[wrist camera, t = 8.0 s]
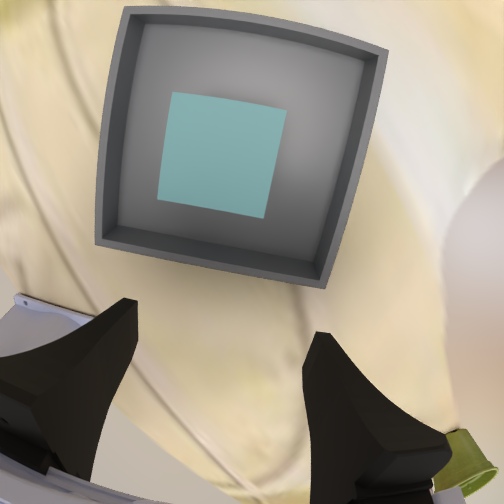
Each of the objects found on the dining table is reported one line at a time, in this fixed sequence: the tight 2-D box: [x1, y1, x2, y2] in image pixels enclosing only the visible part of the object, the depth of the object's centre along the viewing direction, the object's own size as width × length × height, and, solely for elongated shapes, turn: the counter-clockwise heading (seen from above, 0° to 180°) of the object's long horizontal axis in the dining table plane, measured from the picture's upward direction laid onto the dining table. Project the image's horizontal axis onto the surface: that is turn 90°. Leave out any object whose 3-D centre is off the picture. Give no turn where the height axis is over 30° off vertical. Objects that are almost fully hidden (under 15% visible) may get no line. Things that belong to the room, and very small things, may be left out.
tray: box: [95, 6, 389, 289], centre depth 17 cm, size 14×14×3 cm
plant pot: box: [433, 429, 499, 498], centre depth 28 cm, size 9×9×9 cm
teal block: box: [157, 92, 287, 219], centre depth 15 cm, size 4×4×6 cm
